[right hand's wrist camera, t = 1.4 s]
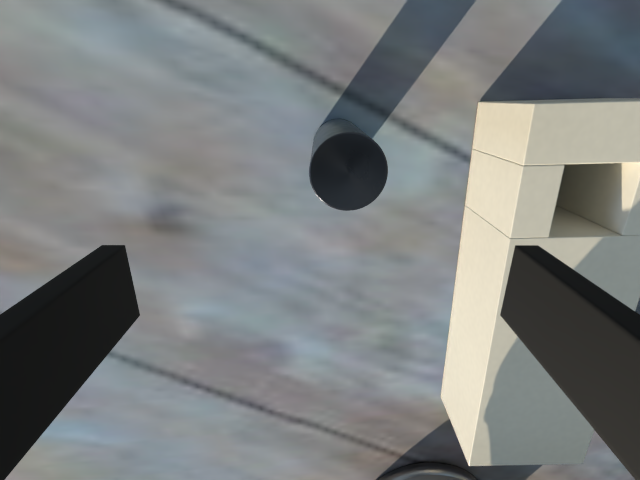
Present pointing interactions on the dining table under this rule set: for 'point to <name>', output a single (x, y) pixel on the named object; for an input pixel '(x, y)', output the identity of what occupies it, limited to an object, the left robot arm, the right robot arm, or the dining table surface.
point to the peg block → (556, 238)
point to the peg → (346, 166)
